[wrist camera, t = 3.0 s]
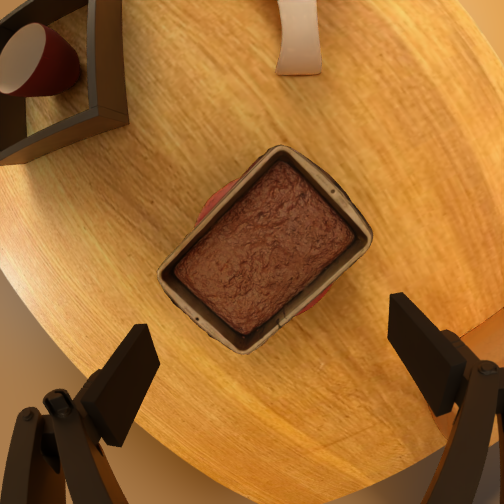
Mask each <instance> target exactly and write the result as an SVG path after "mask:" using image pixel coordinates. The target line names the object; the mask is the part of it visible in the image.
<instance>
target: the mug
mask: <svg viewBox="0 0 504 504" xmlns="http://www.w3.org/2000/svg"><path fill="white" fill-rule="evenodd" d="M80 70H81V68H80V62H79V58H78V55H77V53H76V52H75V50H74V49H73V48H72V47H71V46H70V45H69V44H68V43H67V42H66V41H65V40H64V39H63V38H62V37H61V36H60V35H59V34H58V33H57V32H55V31H54V30H53V29H51V28H49V27H47V26H45V25H42V24H40V23H30V24H28V25H25V26H24V27H22V28H21V29H19V30H18V31H17V32H16V33H15V34H14V35H13V36H12V37H11V38H10V39H9V41H8V42H7V44H6V45H5V47H4V48H3V50H2V52H1V54H0V92H1V93H3V94H6V95H11V96H16V97H39V96H52V95H56V94H59V93H61V92H63V91H65V90H67V89H69V88H70V87H72V86H73V85H74V84H75V83H76V81H77V80H78V78H79V75H80Z"/></svg>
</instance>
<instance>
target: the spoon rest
mask: <svg viewBox="0 0 504 504" xmlns="http://www.w3.org/2000/svg"><path fill="white" fill-rule="evenodd" d="M277 2H278V6H279V11H280V17H281V26H282V42H281V51H280V56H279V59H278V63H277V66H276V70H275V73H276V74H277V75H306V74H319V73H321V71H322V57H321V50H320V40H319V31H318V18H317V1H316V0H277Z"/></svg>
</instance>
